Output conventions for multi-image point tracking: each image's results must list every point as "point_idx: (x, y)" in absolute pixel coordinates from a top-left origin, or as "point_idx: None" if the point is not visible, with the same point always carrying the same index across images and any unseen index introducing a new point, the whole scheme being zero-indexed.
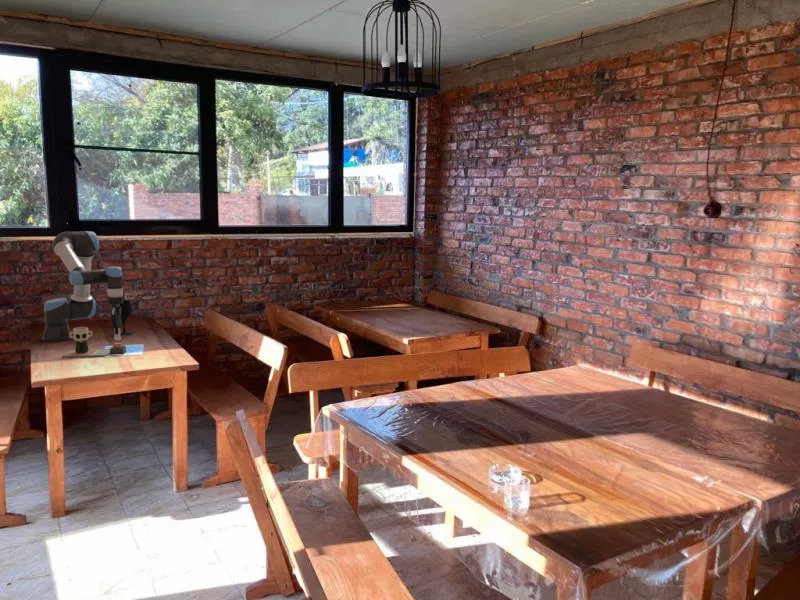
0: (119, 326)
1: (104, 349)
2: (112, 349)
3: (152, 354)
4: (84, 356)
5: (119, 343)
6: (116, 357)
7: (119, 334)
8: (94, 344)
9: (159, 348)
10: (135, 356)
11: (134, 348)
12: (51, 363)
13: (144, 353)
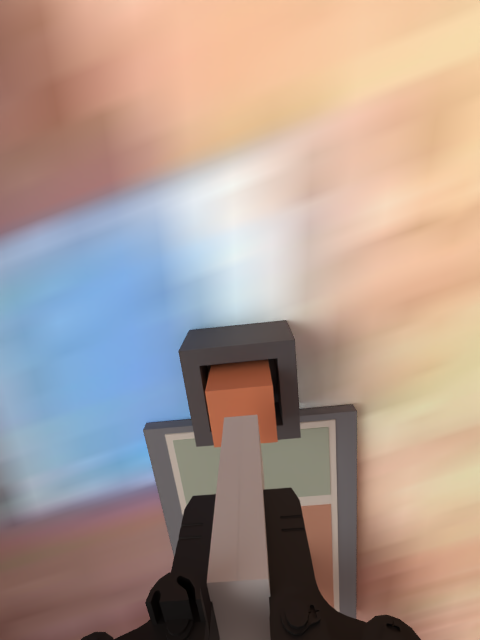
0: (207, 624)
1: (167, 485)
2: (298, 414)
3: (277, 37)
4: (355, 526)
5: (245, 400)
6: (374, 336)
7: (259, 471)
8: (6, 579)
9: (4, 57)
10: (353, 192)
11: (58, 308)
12: (477, 609)
13: (235, 146)
